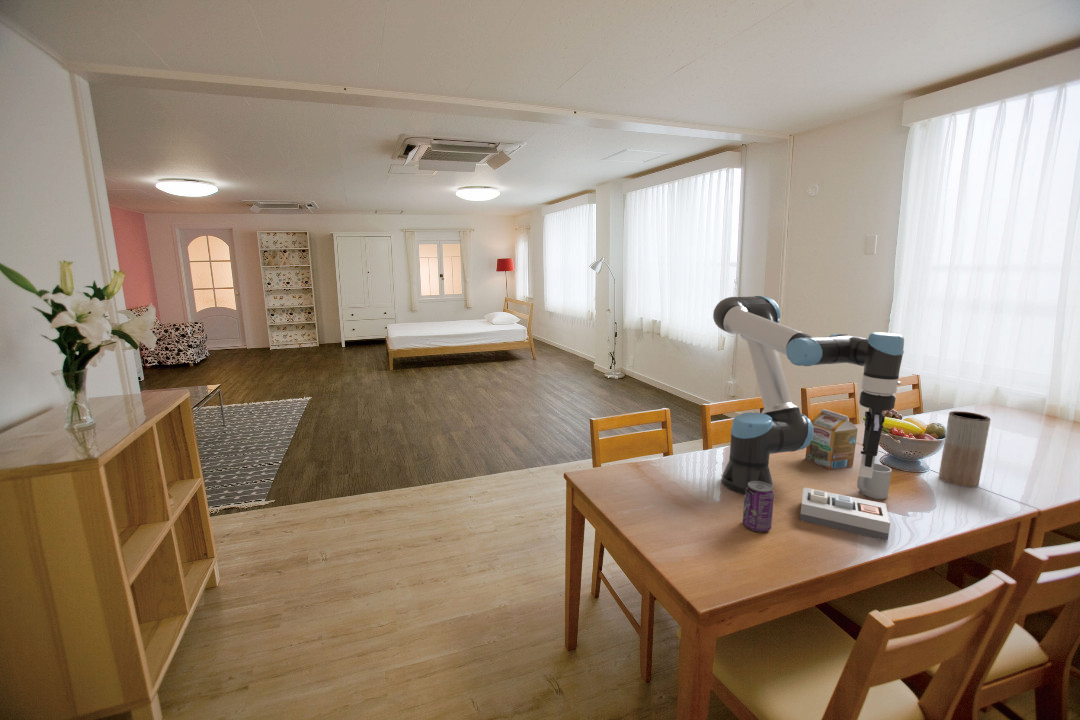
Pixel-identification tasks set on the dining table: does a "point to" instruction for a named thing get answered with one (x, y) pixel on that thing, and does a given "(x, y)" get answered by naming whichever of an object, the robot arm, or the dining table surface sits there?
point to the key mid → (843, 501)
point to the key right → (869, 509)
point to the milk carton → (832, 441)
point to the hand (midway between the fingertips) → (865, 476)
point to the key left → (818, 496)
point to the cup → (876, 482)
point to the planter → (964, 448)
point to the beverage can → (758, 506)
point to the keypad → (846, 515)
